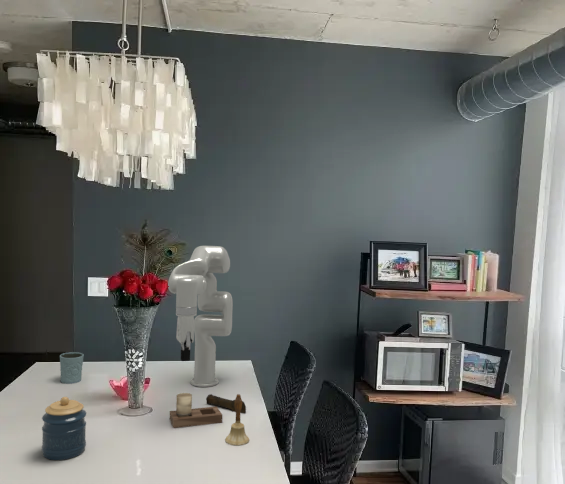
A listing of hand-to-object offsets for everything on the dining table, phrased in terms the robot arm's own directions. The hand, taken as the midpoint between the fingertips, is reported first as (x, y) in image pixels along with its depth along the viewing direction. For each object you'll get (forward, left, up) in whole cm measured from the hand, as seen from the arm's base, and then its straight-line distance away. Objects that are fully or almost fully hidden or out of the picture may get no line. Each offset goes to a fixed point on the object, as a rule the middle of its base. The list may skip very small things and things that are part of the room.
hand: (185, 360), depth 191 cm
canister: (+14, -41, -23) cm, 49 cm away
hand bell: (+22, +14, -23) cm, 35 cm away
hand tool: (-9, +19, -24) cm, 32 cm away
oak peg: (0, 0, -23) cm, 23 cm away
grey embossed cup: (-61, -40, -23) cm, 77 cm away
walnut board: (+1, +4, -23) cm, 24 cm away
